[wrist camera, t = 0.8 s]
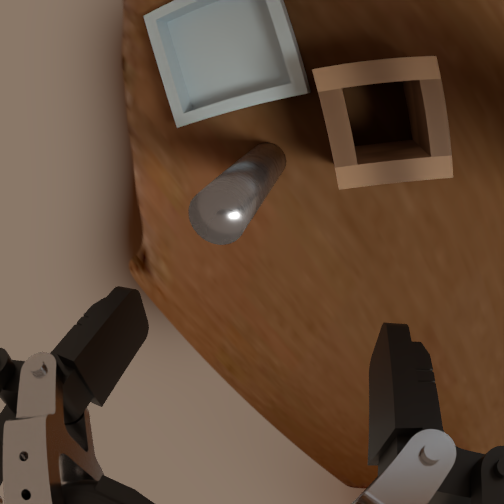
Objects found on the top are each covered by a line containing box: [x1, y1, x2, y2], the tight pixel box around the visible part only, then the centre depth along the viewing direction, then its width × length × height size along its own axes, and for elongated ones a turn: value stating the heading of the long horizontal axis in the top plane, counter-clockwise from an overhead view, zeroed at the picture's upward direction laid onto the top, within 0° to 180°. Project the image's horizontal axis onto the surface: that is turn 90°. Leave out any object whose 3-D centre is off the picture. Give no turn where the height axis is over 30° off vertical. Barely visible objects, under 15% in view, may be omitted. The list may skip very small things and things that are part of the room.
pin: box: [189, 143, 286, 245], centre depth 21 cm, size 3×3×12 cm
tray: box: [143, 0, 311, 128], centre depth 21 cm, size 11×11×2 cm
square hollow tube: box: [312, 56, 453, 189], centre depth 19 cm, size 8×8×6 cm
